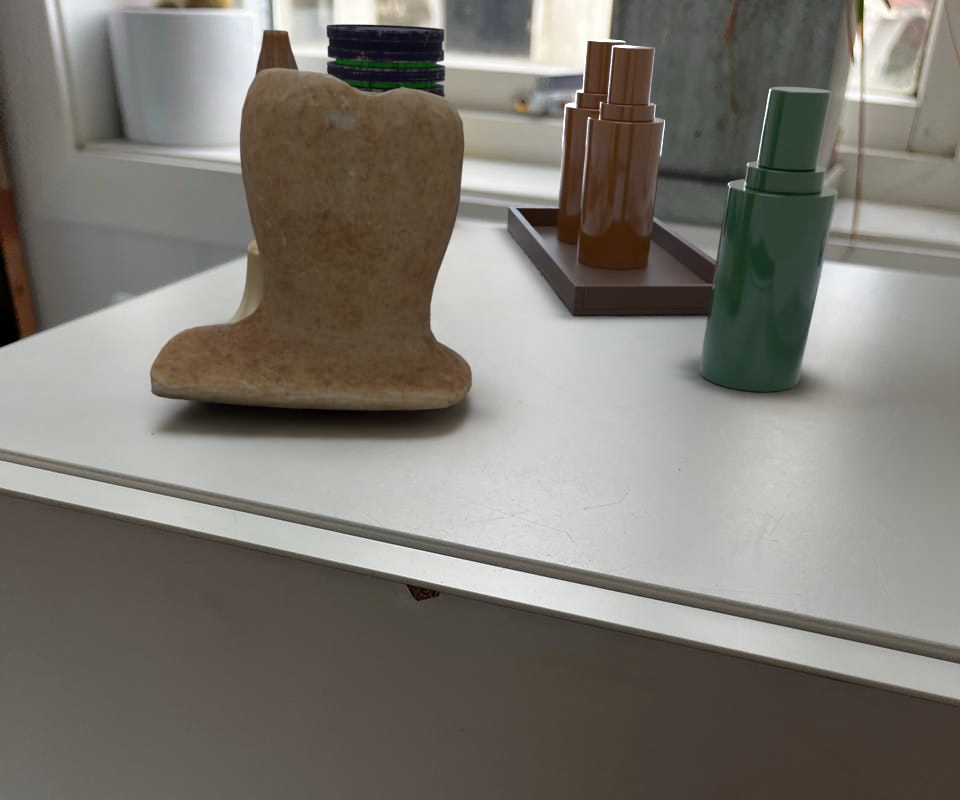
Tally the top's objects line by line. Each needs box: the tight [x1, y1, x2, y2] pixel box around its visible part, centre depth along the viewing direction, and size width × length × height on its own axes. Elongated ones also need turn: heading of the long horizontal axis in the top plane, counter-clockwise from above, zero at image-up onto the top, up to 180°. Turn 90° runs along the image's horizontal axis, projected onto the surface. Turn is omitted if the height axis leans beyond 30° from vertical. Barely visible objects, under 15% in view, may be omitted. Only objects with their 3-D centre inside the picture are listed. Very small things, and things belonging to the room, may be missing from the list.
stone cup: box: [149, 68, 473, 412], centre depth 49 cm, size 15×12×15 cm
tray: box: [506, 206, 716, 316], centre depth 79 cm, size 12×27×2 cm, turn 8°
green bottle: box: [699, 86, 839, 393], centre depth 54 cm, size 6×6×14 cm
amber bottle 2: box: [576, 45, 666, 270], centre depth 75 cm, size 6×6×14 cm
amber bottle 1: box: [556, 38, 626, 245], centre depth 82 cm, size 6×6×14 cm
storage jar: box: [326, 23, 446, 98], centre depth 87 cm, size 10×10×15 cm
